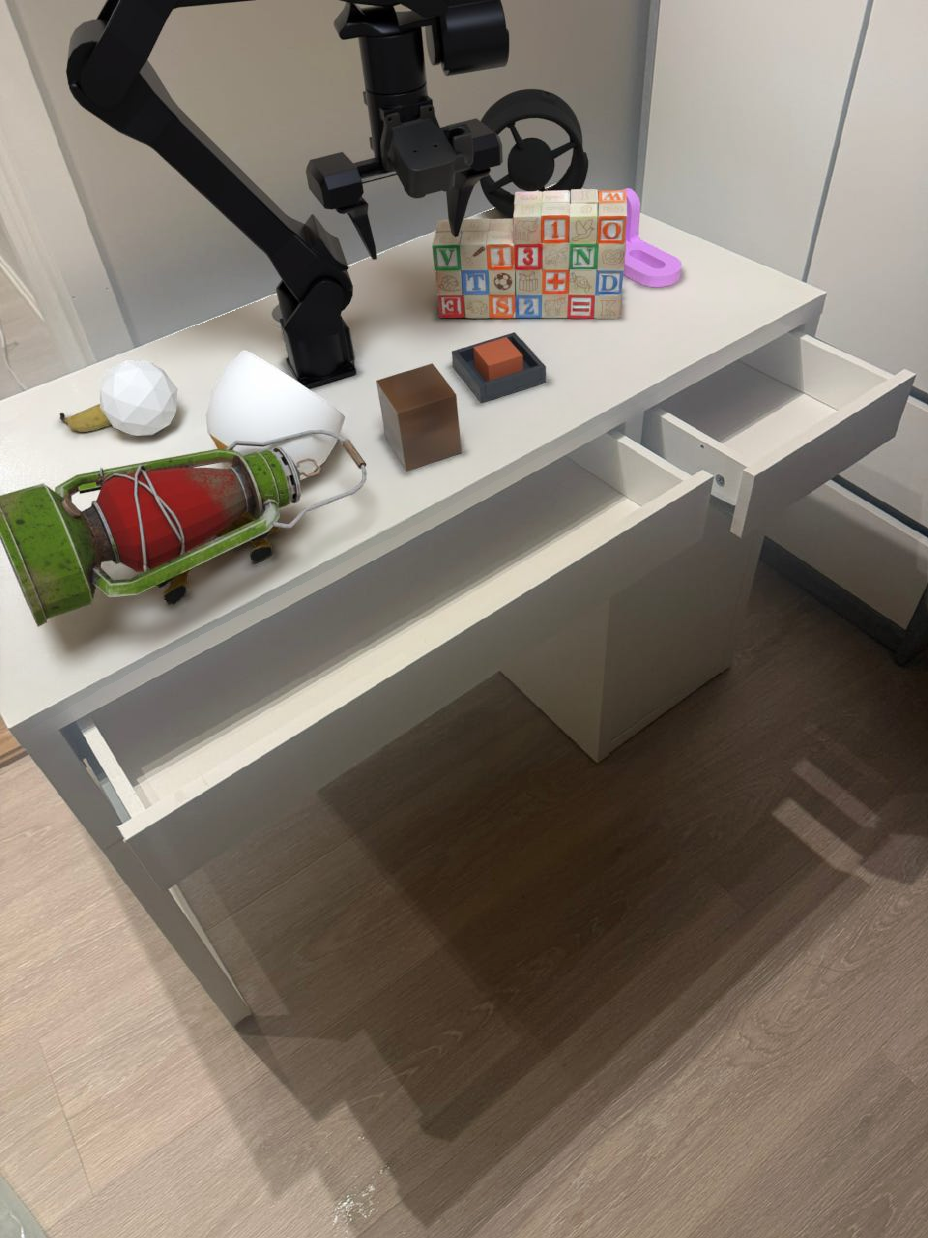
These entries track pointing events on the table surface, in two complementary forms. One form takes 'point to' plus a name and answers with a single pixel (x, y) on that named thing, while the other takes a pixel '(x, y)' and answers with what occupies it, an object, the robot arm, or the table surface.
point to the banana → (87, 420)
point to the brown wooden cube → (419, 416)
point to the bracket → (646, 253)
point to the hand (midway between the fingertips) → (414, 246)
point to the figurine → (260, 542)
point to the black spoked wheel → (533, 147)
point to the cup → (270, 412)
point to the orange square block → (497, 359)
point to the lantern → (146, 521)
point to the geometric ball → (138, 397)
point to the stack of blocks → (536, 259)
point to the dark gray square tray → (504, 385)
